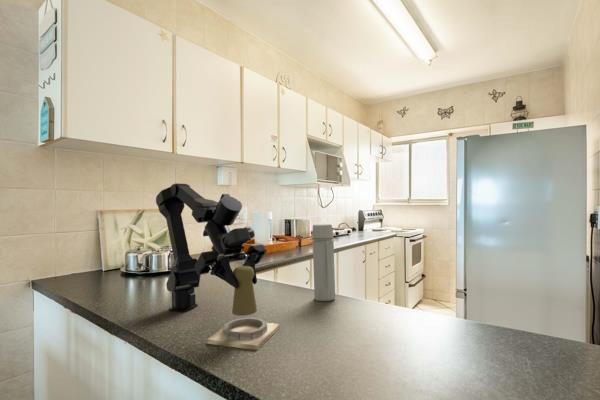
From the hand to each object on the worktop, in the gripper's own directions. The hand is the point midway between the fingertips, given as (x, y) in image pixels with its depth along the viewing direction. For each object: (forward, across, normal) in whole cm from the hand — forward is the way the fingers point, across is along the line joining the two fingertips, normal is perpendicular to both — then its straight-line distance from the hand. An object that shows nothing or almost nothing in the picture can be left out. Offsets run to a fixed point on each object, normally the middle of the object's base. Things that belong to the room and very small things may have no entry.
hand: (247, 285), depth 76 cm
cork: (+4, 0, +6) cm, 7 cm away
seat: (+8, 0, +10) cm, 12 cm away
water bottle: (+6, +35, +12) cm, 37 cm away
